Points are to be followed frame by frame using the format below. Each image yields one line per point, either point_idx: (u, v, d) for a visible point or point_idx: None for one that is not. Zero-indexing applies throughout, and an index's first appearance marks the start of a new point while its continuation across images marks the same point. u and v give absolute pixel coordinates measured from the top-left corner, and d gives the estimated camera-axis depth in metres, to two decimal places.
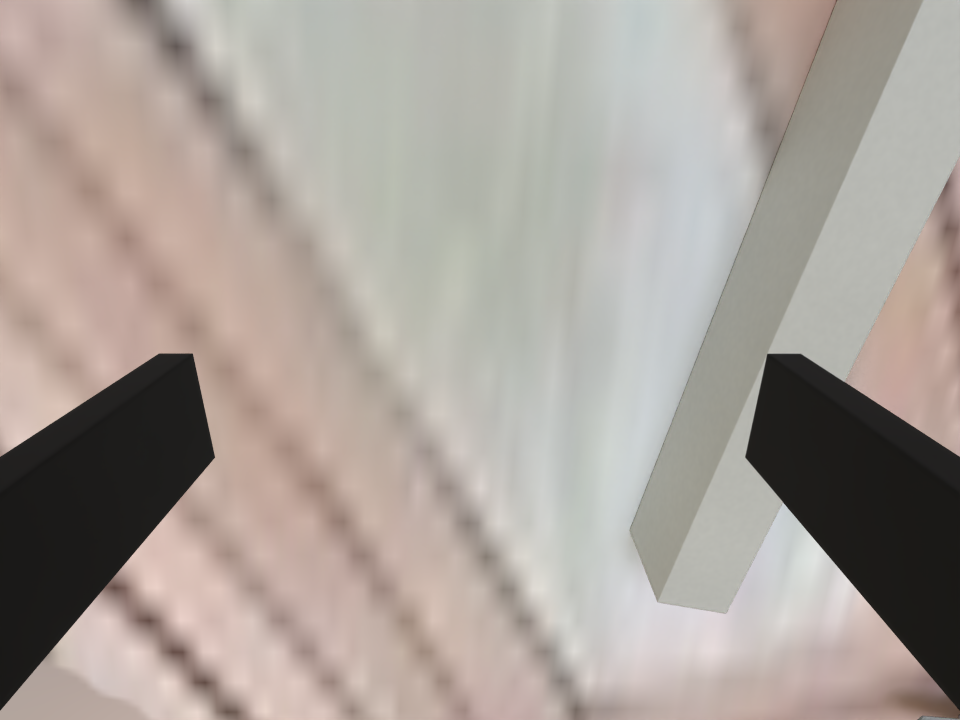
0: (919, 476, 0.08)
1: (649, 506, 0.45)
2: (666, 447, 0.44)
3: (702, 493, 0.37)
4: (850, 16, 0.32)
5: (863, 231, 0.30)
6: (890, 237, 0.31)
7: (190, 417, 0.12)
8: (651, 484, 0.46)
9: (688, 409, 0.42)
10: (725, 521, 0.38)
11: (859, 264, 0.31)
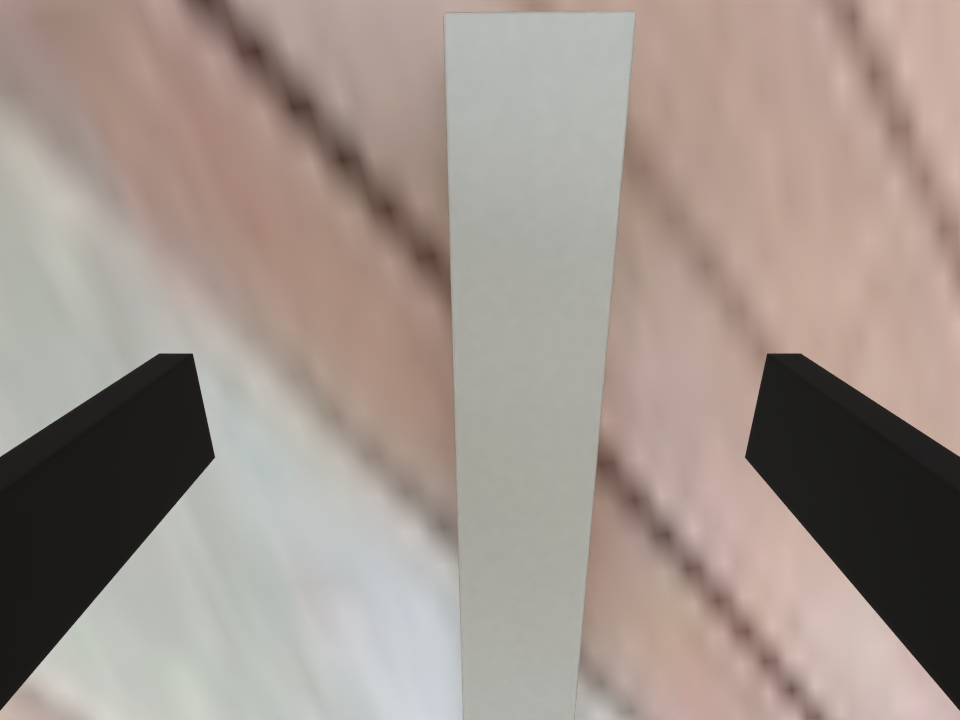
0: (919, 476, 0.08)
1: None
2: None
3: None
4: None
5: (509, 716, 0.27)
6: (543, 716, 0.27)
7: (190, 417, 0.12)
8: None
9: None
10: None
11: None
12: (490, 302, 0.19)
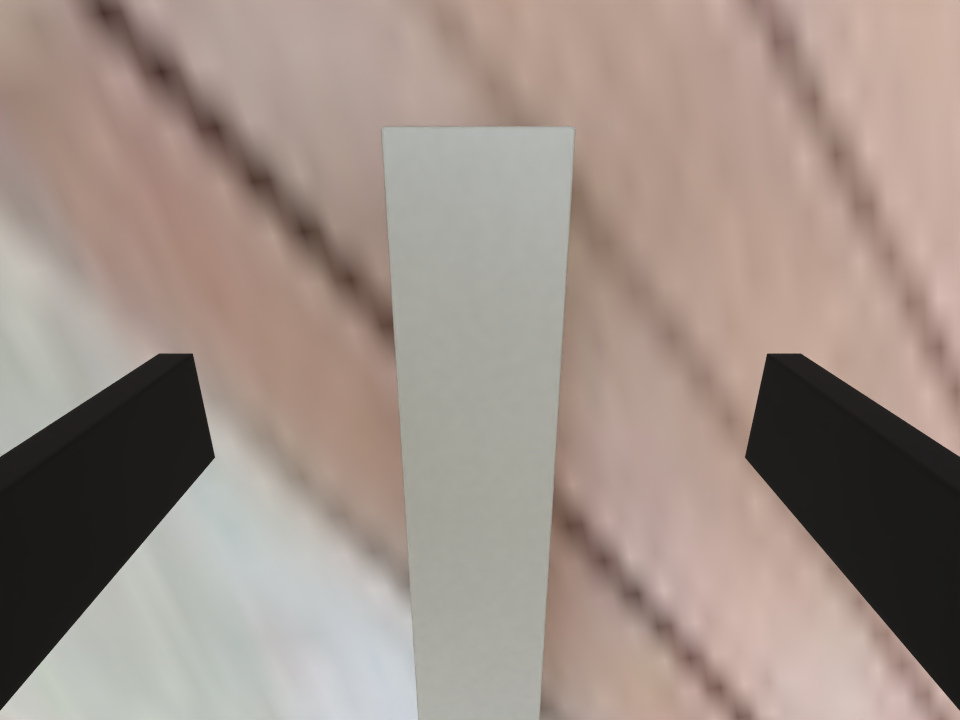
0: (919, 476, 0.08)
1: None
2: None
3: None
4: None
5: None
6: None
7: (190, 417, 0.12)
8: None
9: None
10: None
11: None
12: (437, 398, 0.19)
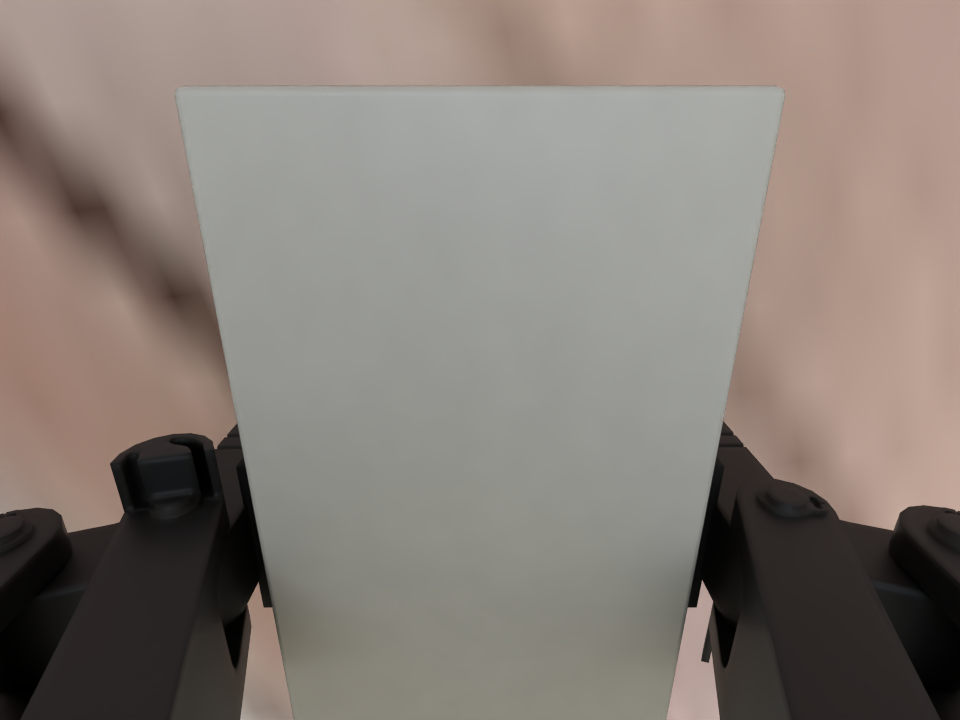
0: None
1: None
2: None
3: None
4: None
5: None
6: None
7: None
8: None
9: None
10: None
11: None
12: None
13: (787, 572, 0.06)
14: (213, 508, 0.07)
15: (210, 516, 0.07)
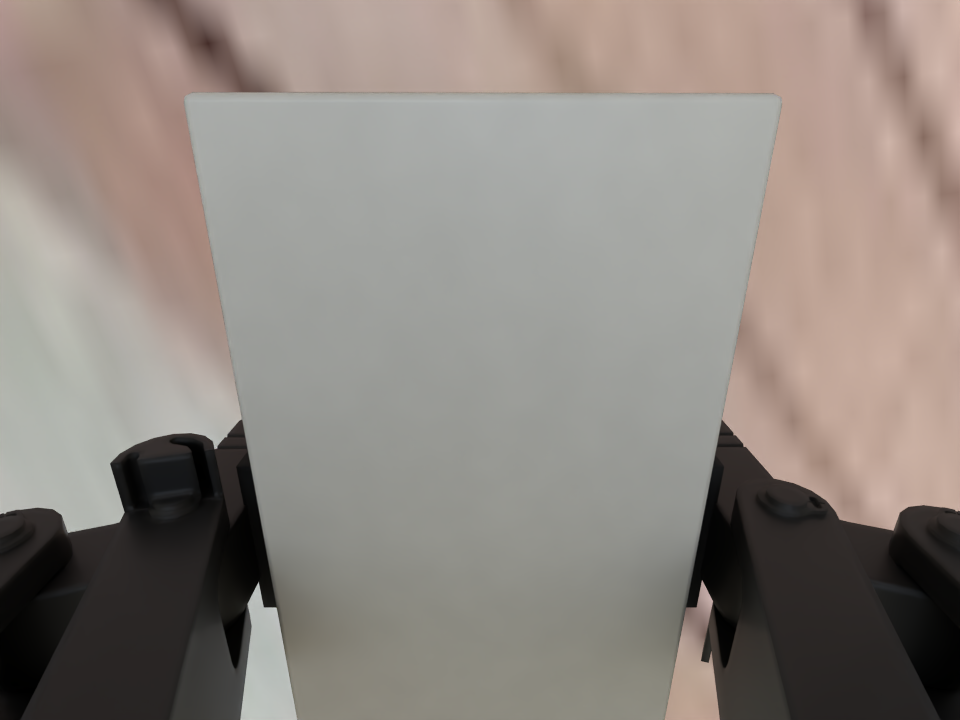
0: None
1: None
2: None
3: None
4: None
5: None
6: None
7: None
8: None
9: None
10: None
11: None
12: None
13: (787, 572, 0.06)
14: (213, 508, 0.07)
15: (210, 516, 0.07)
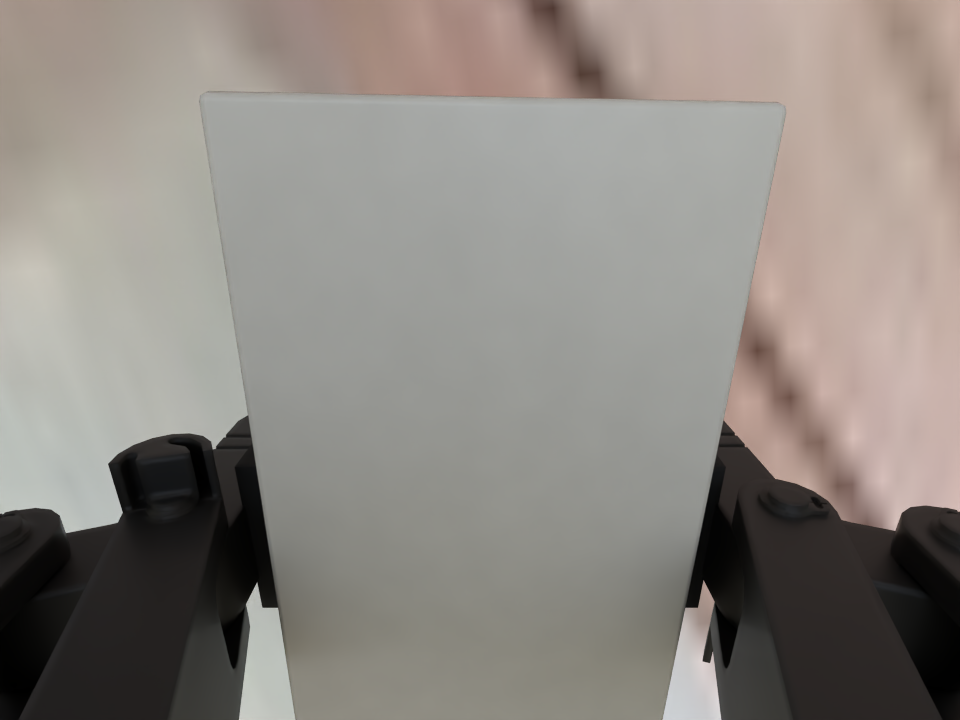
0: None
1: None
2: None
3: None
4: None
5: None
6: None
7: None
8: None
9: None
10: None
11: None
12: None
13: (789, 572, 0.06)
14: (211, 508, 0.07)
15: (208, 516, 0.07)
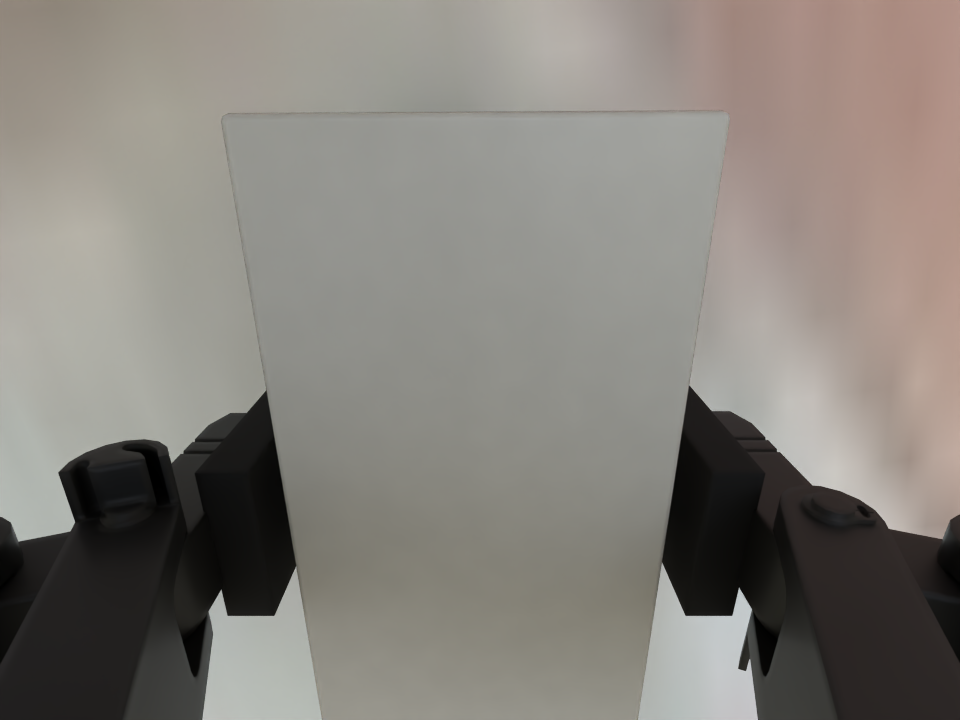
0: None
1: None
2: None
3: None
4: None
5: None
6: None
7: None
8: None
9: None
10: None
11: None
12: (395, 679, 0.09)
13: (834, 581, 0.06)
14: (169, 515, 0.07)
15: (165, 523, 0.07)
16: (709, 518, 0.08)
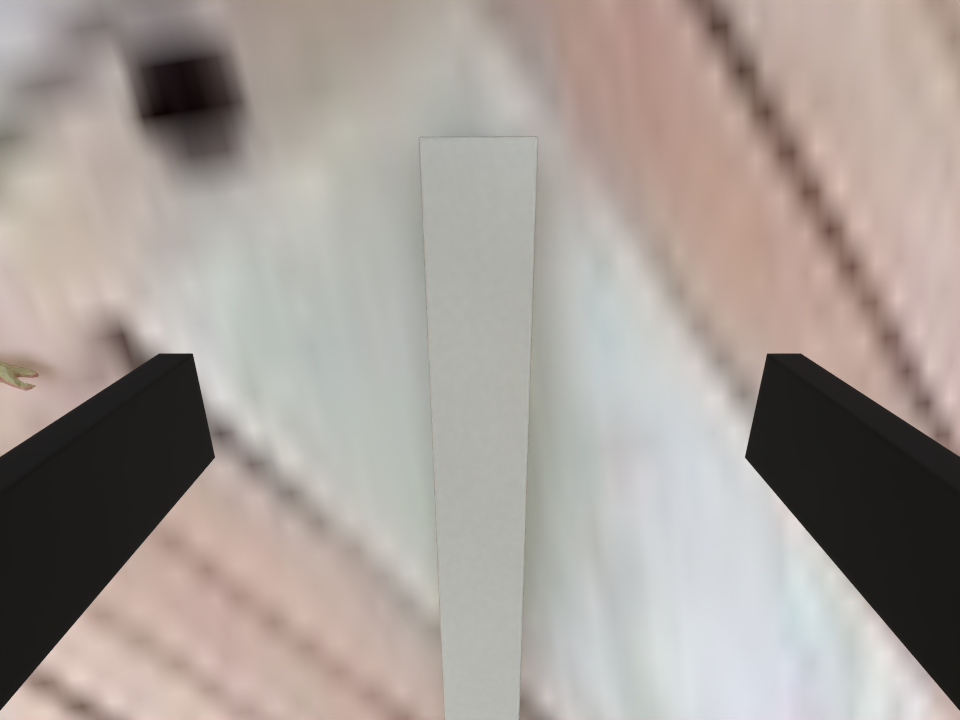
0: (919, 476, 0.08)
1: None
2: None
3: None
4: None
5: (473, 617, 0.36)
6: (499, 617, 0.36)
7: (190, 417, 0.12)
8: None
9: None
10: None
11: (484, 637, 0.37)
12: (452, 314, 0.28)
13: None
14: None
15: None
16: None
